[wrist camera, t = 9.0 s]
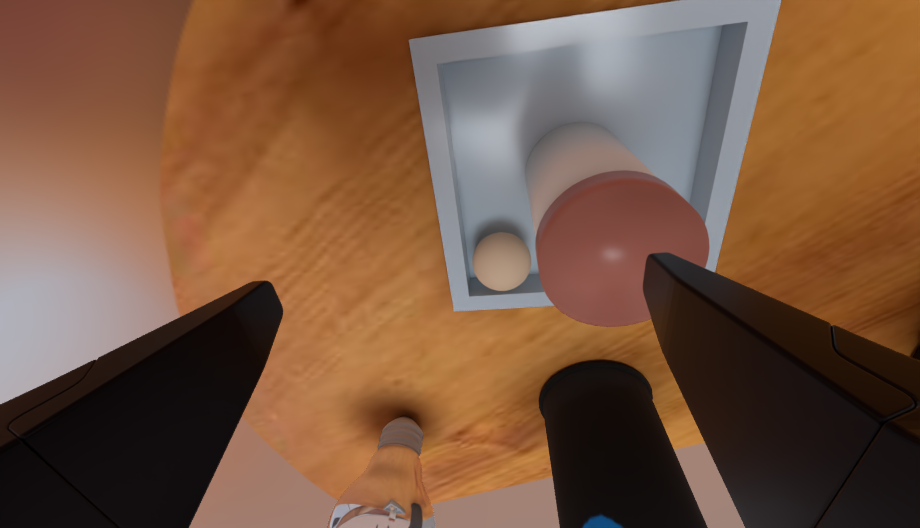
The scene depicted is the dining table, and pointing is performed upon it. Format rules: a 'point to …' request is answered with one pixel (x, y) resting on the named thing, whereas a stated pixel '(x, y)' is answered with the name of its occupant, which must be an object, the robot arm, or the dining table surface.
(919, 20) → the dining table surface
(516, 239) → the cork ball
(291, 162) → the dining table surface
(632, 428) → the aerosol can
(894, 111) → the dining table surface
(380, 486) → the light bulb
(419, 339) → the dining table surface
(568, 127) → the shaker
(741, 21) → the dish
